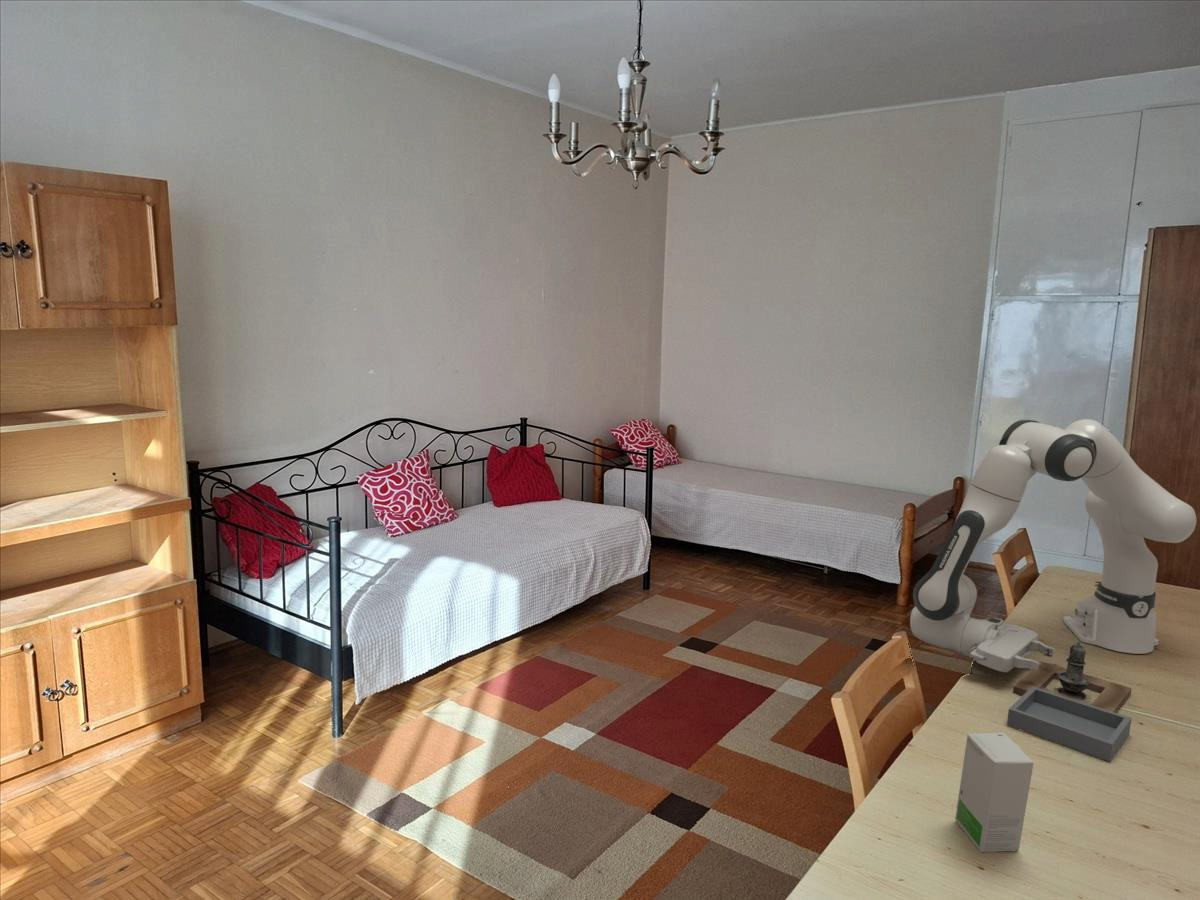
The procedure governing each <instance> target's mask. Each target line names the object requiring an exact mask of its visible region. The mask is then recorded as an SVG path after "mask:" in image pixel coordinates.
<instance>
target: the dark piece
mask: <svg viewBox="0 0 1200 900" xmlns="http://www.w3.org/2000/svg"><path fill="white" fill-rule="evenodd" d="M1086 652H1087V651H1086V648H1085V647H1084V646H1083V645H1082V644H1081V641H1080V640H1078V641H1077V642H1076V644H1072V645H1071V646H1070V648H1069V654H1068V658H1066V662H1067V664H1066V665H1067V666H1066V669H1067V670H1066V672H1062V673H1060V674H1059V675H1058V676H1059V678H1060V680H1059V683H1060V685H1061V687H1059V688H1058V689H1057V692H1058V693H1061V694H1065V695H1068V696H1071V697H1074V698H1077V699H1080V700H1083V701H1084V700H1086V698H1087V694H1085V693H1084V692H1083V691H1085V690H1087V689H1086V688H1087V685H1088V684H1089V683H1090V681H1089V679H1087V678H1086V677H1084V675H1083V674H1084V669H1085V668H1084V667H1085V666H1086V665H1087V662H1085V658H1086Z"/></svg>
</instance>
